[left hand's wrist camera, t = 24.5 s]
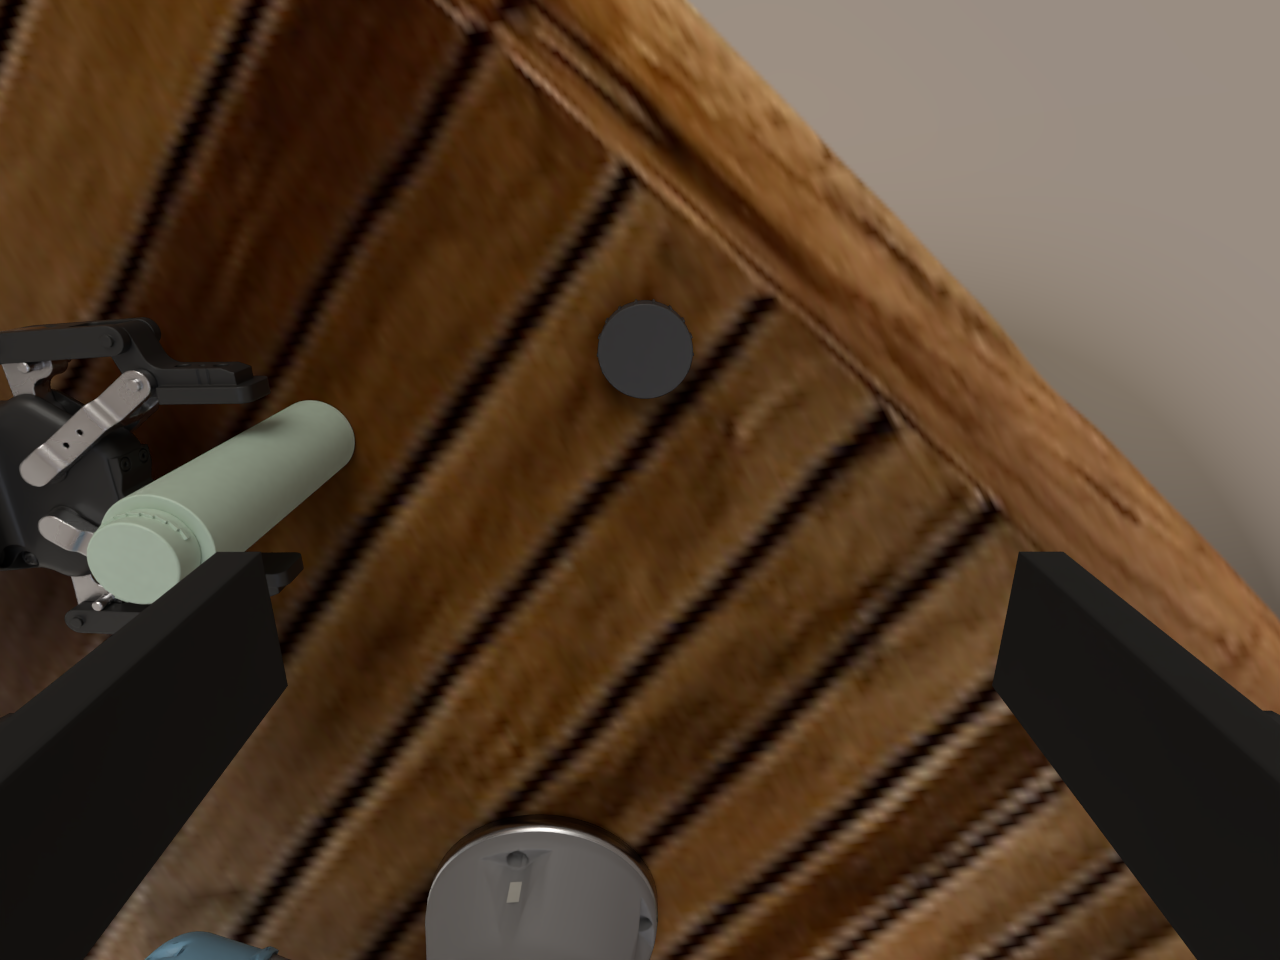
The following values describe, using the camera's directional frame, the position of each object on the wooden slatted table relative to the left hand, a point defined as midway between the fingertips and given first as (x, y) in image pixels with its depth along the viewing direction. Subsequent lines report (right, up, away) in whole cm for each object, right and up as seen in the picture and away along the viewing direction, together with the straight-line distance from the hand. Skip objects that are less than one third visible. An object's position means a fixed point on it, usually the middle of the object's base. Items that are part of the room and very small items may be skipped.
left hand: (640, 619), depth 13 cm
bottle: (-17, +5, +25) cm, 31 cm away
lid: (0, +9, +22) cm, 24 cm away
